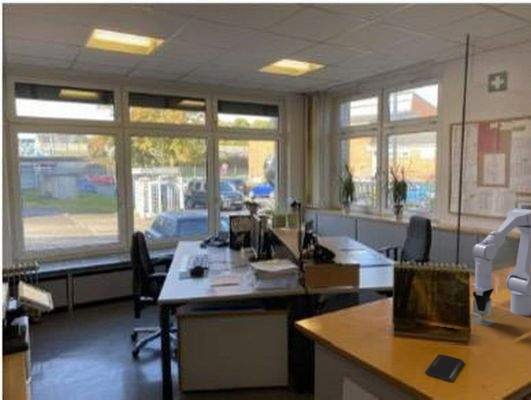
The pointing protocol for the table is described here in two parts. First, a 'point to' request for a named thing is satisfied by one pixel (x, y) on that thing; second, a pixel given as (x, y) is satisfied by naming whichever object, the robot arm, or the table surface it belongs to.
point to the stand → (478, 314)
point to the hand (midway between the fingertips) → (482, 308)
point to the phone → (444, 367)
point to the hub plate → (487, 322)
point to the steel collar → (487, 308)
